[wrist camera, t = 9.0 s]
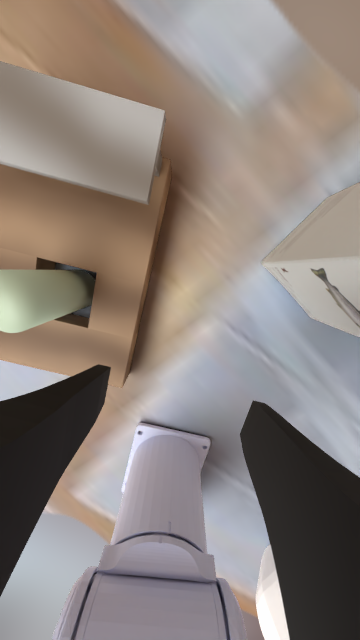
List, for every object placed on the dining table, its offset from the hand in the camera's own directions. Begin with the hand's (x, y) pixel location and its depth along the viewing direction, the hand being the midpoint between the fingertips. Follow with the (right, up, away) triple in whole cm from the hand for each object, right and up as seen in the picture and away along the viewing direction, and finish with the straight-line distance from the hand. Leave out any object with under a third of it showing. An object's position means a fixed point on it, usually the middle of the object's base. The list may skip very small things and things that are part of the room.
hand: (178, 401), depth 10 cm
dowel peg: (-9, +7, +9) cm, 14 cm away
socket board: (-9, +8, +8) cm, 15 cm away
